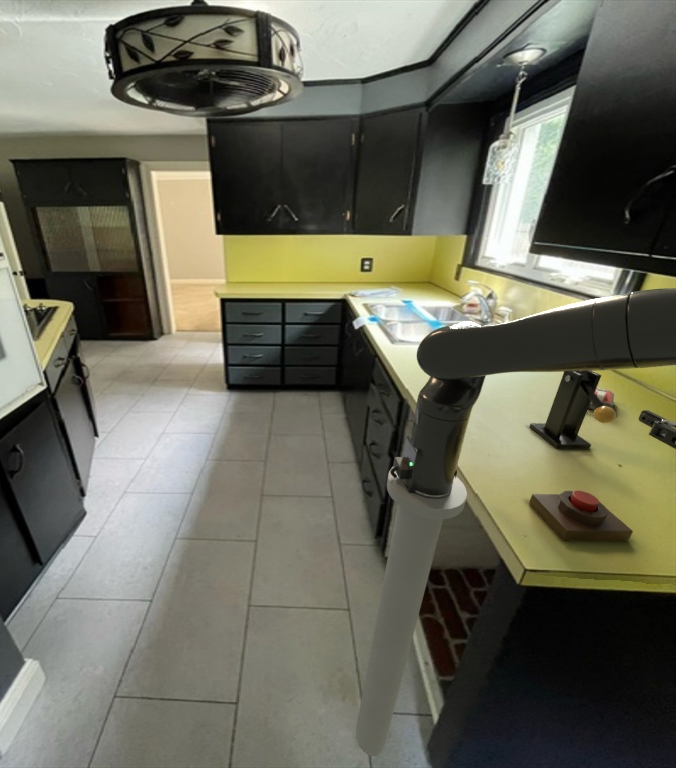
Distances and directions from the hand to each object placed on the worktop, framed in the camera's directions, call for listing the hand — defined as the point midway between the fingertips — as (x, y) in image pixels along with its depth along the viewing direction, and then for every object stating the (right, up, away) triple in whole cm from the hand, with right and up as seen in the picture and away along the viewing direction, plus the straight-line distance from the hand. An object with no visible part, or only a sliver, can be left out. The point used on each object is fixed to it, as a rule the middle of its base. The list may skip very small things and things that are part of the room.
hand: (665, 415), depth 65 cm
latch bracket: (+1, -8, +25) cm, 27 cm away
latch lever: (+1, +2, +17) cm, 17 cm away
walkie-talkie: (+23, -1, +41) cm, 47 cm away
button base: (-16, -19, 0) cm, 25 cm away
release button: (-16, -16, -2) cm, 23 cm away
